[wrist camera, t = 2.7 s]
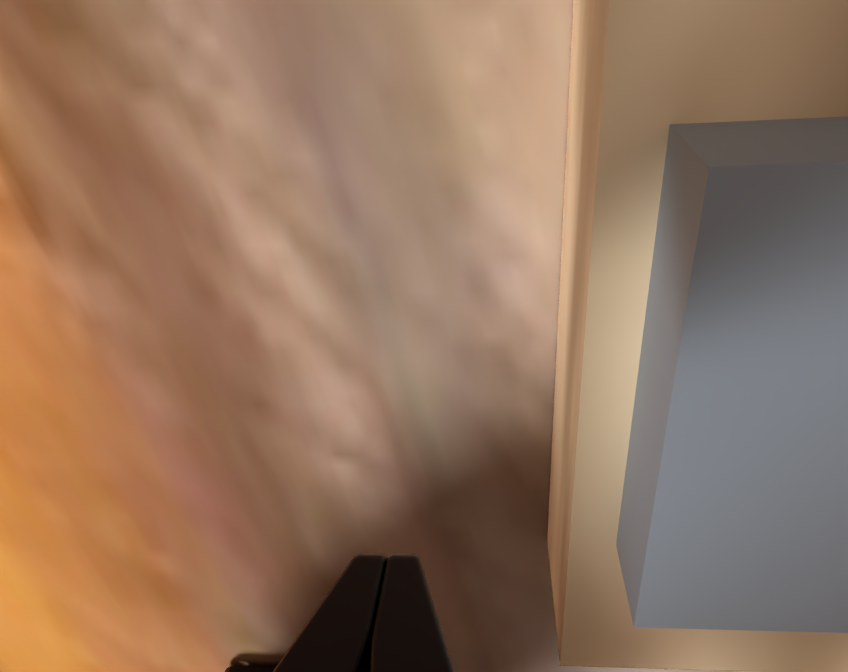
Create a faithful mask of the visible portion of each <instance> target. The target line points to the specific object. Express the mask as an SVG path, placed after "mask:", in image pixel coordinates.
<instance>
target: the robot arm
mask: <svg viewBox="0 0 848 672" xmlns="http://www.w3.org/2000/svg"><path fill="white" fill-rule="evenodd" d="M225 672H453V668H452V665H451V662H450V658H449V655H448V652H447V648H446V645H445V641H444V638H443V635H442V631H441V628H440V625H439V621H438V618H437V615H436V611H435V608H434V605H433V601H432V598H431V594H430V591H429V588H428V584H427V581H426V578H425V574H424V571H423V568H422V564H421V561H420V558H419V557H418V555H416V554H391V555H389V557H388V558H387V556H386V555H385V554H382V553H360V554H357V555H356V556H355V557H354V558H353V559H352V560H351V562H350V563H349V565H348V566H347V567H346V569H345V570H344V572H343V573H342V575H341V576H340V577H339V579H338V580H337V582H336V583H335V584H334V586H333V587H332V589H331V590H330V591H329V593H328V594H327V596H326V597H325V599H324V600H323V601H322V603H321V604H320V606H319V607H318V608H317V610H316V611H315V613H314V614H313V616H312V617H311V618H310V620H309V621H308V623H307V624H306V625H305V627H304V628H303V630H302V631H301V633H300V634H299V635H298V637H297V638H296V640H295V641H294V642H293V644H292V645H291V647H290V648H289V650H288V651H287V652H286V654H285V655H284V657H283V658H282V659H281V661H280V662H279V664H278V665H277V666H276V668H273V667H243V666H232V667H229V668H227V669H226V670H225Z"/></svg>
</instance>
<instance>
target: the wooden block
mask: <svg viewBox="0 0 848 672" xmlns="http://www.w3.org/2000/svg"><path fill="white" fill-rule="evenodd" d="M847 116H848V0H574V2H573V22H572V43H571V63H570V84H569V105H568V125H567V146H566V166H565V187H564V207H563V228H562V249H561V269H560V290H559V310H558V331H557V351H556V372H555V393H554V413H553V434H552V454H551V475H550V495H549V516H548V536H547V544H548V553H549V563H550V572H551V582H552V591H553V601H554V611H555V620H556V630H557V639H558V649H559V658H560V666H589V667H620V668H651V669H682V670H713V671H744V672H848V633H826V632H788V631H750V630H712V629H675V628H637V627H634V626H633V622H632V617H631V612H630V608H629V603H628V598H627V594H626V589H625V584H624V580H623V575H622V570H621V566H620V561H619V557H618V552H617V547H616V541H617V533H618V525H619V517H620V510H621V502H622V494H623V486H624V478H625V470H626V463H627V455H628V447H629V439H630V431H631V423H632V416H633V408H634V400H635V392H636V384H637V376H638V369H639V361H640V353H641V345H642V337H643V329H644V322H645V314H646V306H647V298H648V290H649V282H650V275H651V267H652V259H653V251H654V243H655V235H656V228H657V220H658V212H659V204H660V196H661V188H662V181H663V173H664V165H665V157H666V149H667V141H668V134H669V126H670V124H689V123H712V122H734V121H757V120H780V119H802V118H825V117H847Z"/></svg>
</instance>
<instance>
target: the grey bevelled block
mask: <svg viewBox="0 0 848 672" xmlns="http://www.w3.org/2000/svg"><path fill="white" fill-rule="evenodd" d="M616 547H617V552H618V557H619V561H620V566H621V570H622V575H623V580H624V584H625V589H626V594H627V598H628V603H629V608H630V612H631V617H632V622H633V626H634V627H637V628H675V629H712V630H750V631H788V632H826V633H848V116H847V117H825V118H802V119H780V120H757V121H734V122H712V123H689V124H670V126H669V134H668V141H667V149H666V157H665V165H664V173H663V181H662V188H661V196H660V204H659V212H658V220H657V228H656V235H655V243H654V251H653V259H652V267H651V275H650V282H649V290H648V298H647V306H646V314H645V322H644V329H643V337H642V345H641V353H640V361H639V369H638V376H637V384H636V392H635V400H634V408H633V416H632V423H631V431H630V439H629V447H628V455H627V463H626V470H625V478H624V486H623V494H622V502H621V510H620V517H619V525H618V533H617V541H616Z"/></svg>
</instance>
